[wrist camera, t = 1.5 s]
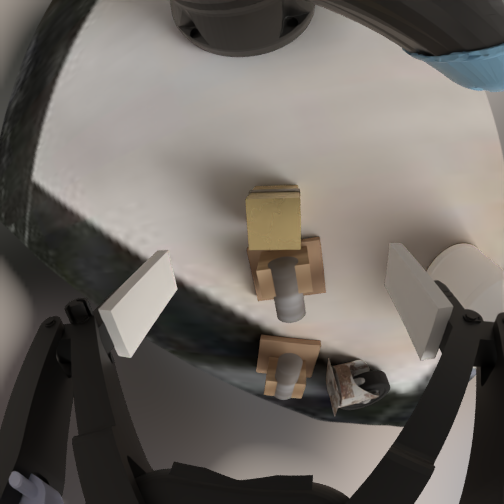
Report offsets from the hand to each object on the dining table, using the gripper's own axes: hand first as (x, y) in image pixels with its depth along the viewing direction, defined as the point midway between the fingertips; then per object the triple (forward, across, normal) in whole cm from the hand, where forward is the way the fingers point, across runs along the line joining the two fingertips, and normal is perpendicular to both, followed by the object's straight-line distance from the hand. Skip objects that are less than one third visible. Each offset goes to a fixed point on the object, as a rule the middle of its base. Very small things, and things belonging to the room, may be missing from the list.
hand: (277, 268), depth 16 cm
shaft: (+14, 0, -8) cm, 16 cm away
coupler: (+15, -1, 0) cm, 15 cm away
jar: (+15, +23, -11) cm, 29 cm away
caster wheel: (+15, +10, -26) cm, 31 cm away
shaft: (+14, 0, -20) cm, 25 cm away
